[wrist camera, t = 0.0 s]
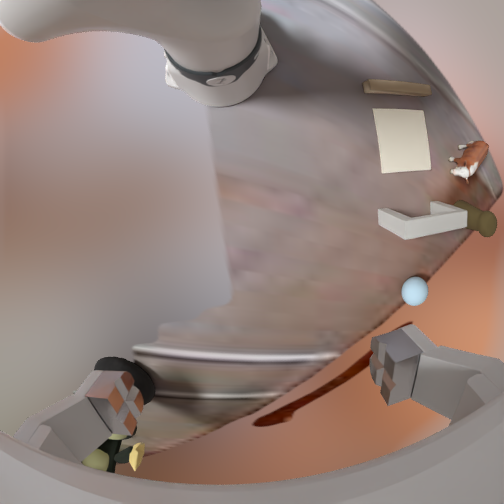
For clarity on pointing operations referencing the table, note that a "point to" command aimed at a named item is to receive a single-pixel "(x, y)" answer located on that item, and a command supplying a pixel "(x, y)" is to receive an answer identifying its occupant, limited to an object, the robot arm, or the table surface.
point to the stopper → (396, 87)
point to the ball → (414, 291)
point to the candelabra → (108, 451)
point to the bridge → (424, 221)
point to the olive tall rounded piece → (478, 219)
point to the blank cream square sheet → (402, 140)
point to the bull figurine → (469, 159)
